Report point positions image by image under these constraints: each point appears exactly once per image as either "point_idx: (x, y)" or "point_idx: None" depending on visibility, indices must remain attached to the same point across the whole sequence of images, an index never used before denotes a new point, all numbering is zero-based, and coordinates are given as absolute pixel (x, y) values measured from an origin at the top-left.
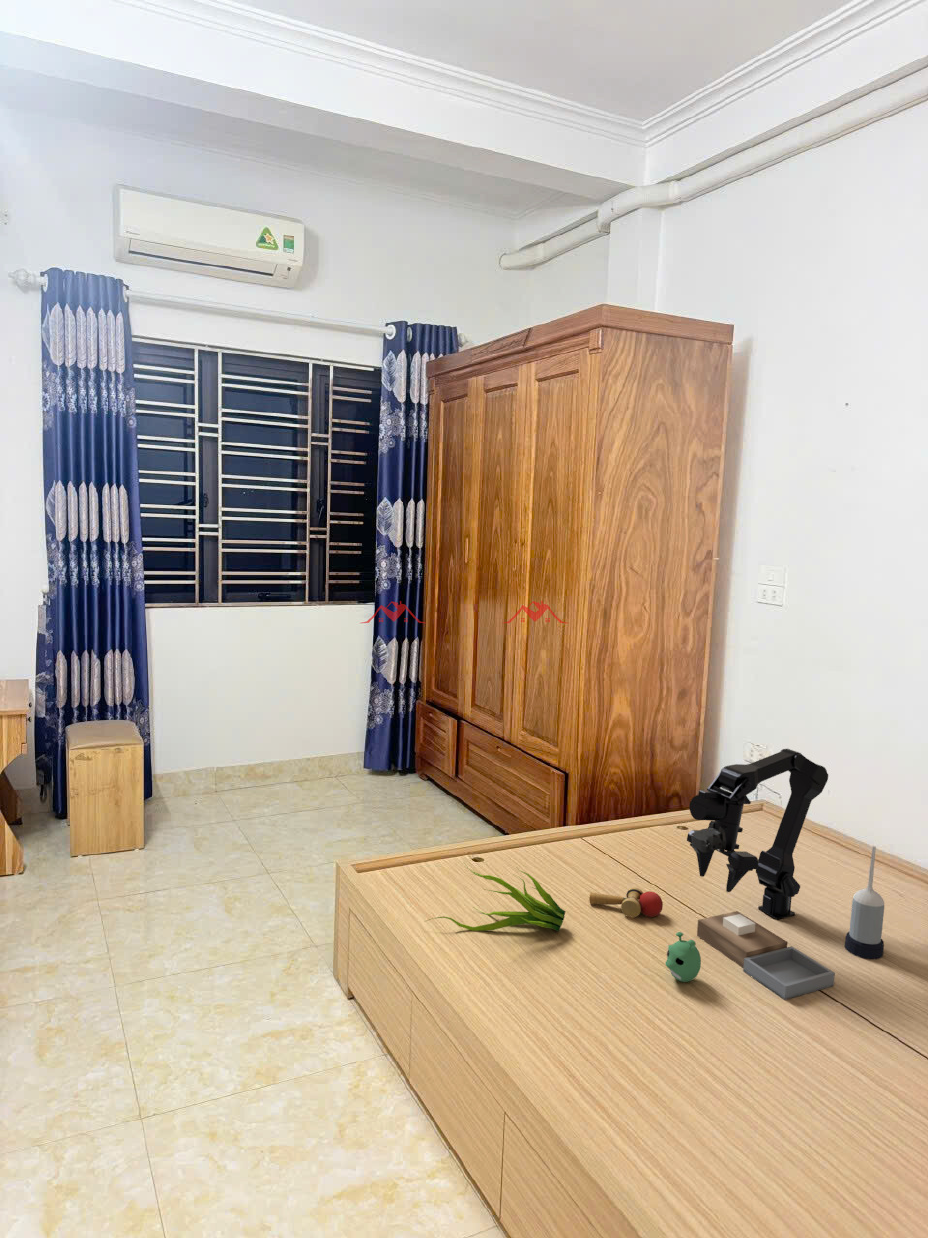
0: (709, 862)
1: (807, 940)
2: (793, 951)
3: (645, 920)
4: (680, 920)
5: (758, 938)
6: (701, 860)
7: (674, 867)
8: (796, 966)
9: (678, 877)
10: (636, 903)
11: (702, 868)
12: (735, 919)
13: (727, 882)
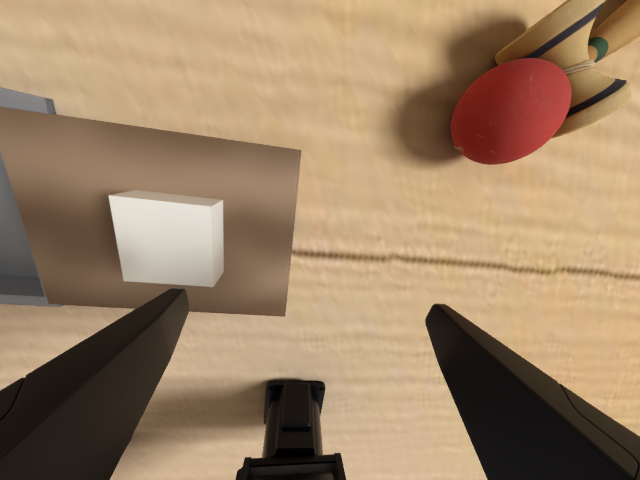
0: (475, 443)
1: (166, 373)
2: (42, 293)
3: (461, 76)
4: (392, 184)
5: (94, 240)
6: (548, 418)
7: (553, 364)
8: (31, 262)
9: (524, 342)
10: (549, 16)
11: (469, 353)
12: (179, 239)
13: (120, 338)
